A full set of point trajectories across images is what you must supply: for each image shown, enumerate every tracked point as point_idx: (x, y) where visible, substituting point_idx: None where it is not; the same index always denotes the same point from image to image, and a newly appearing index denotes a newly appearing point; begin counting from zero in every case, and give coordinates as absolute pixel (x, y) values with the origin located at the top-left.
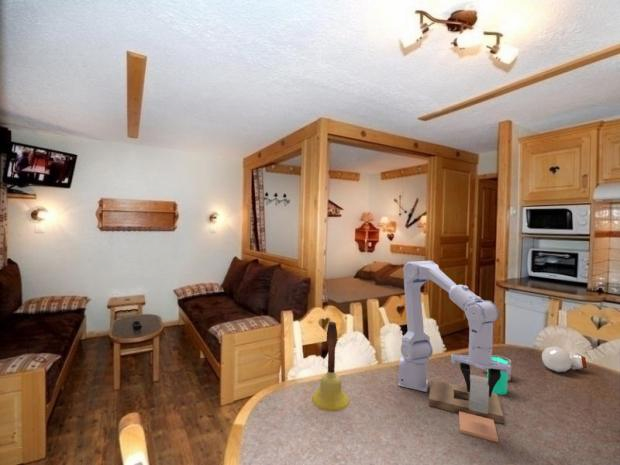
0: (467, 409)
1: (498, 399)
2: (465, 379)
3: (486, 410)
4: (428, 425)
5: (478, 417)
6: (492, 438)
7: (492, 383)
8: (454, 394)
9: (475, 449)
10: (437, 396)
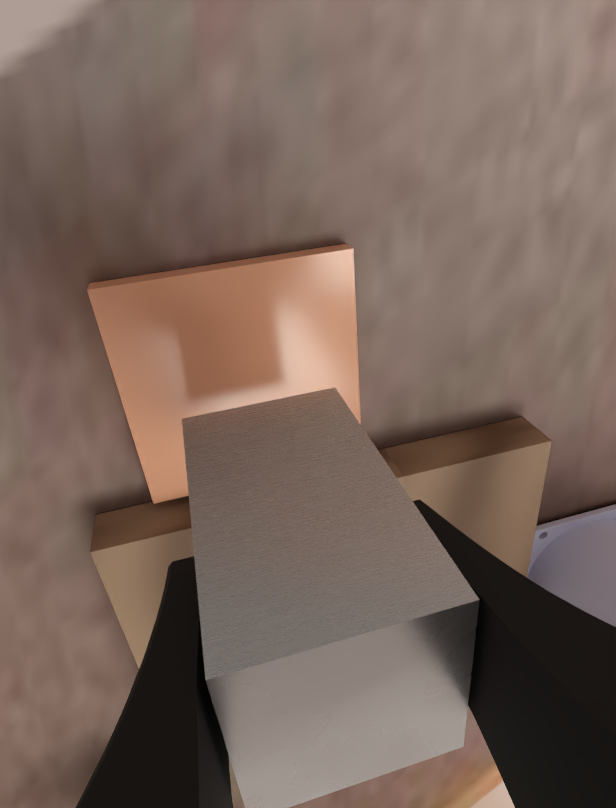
0: None
1: None
2: (554, 599)
3: (197, 434)
4: (543, 193)
5: None
6: (128, 281)
7: (153, 749)
8: None
9: (230, 77)
10: (498, 496)
